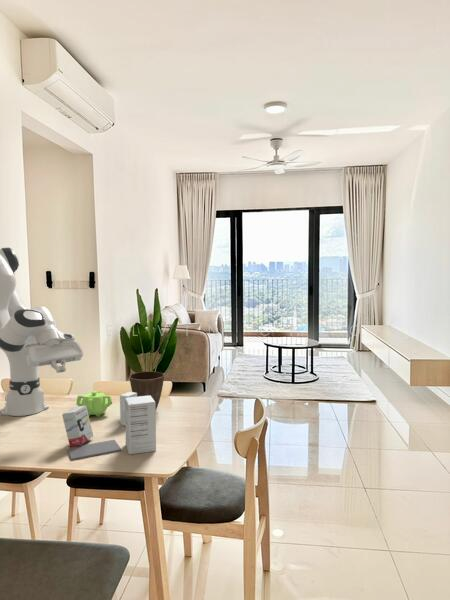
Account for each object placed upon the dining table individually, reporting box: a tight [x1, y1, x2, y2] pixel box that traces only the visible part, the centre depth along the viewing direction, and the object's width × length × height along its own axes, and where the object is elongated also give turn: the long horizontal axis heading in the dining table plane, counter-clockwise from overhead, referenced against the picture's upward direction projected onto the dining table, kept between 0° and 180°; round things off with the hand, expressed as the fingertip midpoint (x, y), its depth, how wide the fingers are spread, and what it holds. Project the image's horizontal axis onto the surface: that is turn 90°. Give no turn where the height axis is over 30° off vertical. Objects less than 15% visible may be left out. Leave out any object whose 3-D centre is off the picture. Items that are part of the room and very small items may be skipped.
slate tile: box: [66, 439, 122, 461], centre depth 142 cm, size 10×16×1 cm, turn 118°
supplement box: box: [124, 396, 157, 455], centre depth 144 cm, size 10×9×17 cm
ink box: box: [61, 405, 94, 448], centre depth 148 cm, size 9×5×12 cm, turn 169°
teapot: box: [75, 390, 113, 418], centre depth 179 cm, size 12×12×10 cm
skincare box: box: [119, 391, 137, 426], centre depth 168 cm, size 6×4×12 cm
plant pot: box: [129, 371, 165, 410], centre depth 183 cm, size 15×15×16 cm
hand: (61, 371), depth 155 cm, fingers closed
